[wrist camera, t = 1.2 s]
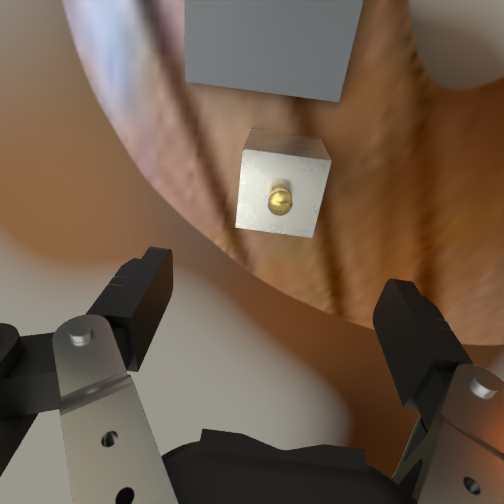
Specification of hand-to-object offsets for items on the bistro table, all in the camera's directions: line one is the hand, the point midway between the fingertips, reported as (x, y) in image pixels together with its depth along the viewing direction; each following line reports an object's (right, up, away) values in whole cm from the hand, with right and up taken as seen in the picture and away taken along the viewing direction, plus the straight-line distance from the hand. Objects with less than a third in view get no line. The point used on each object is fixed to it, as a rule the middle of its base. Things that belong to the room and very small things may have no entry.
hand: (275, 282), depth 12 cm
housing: (+1, +8, +12) cm, 14 cm away
